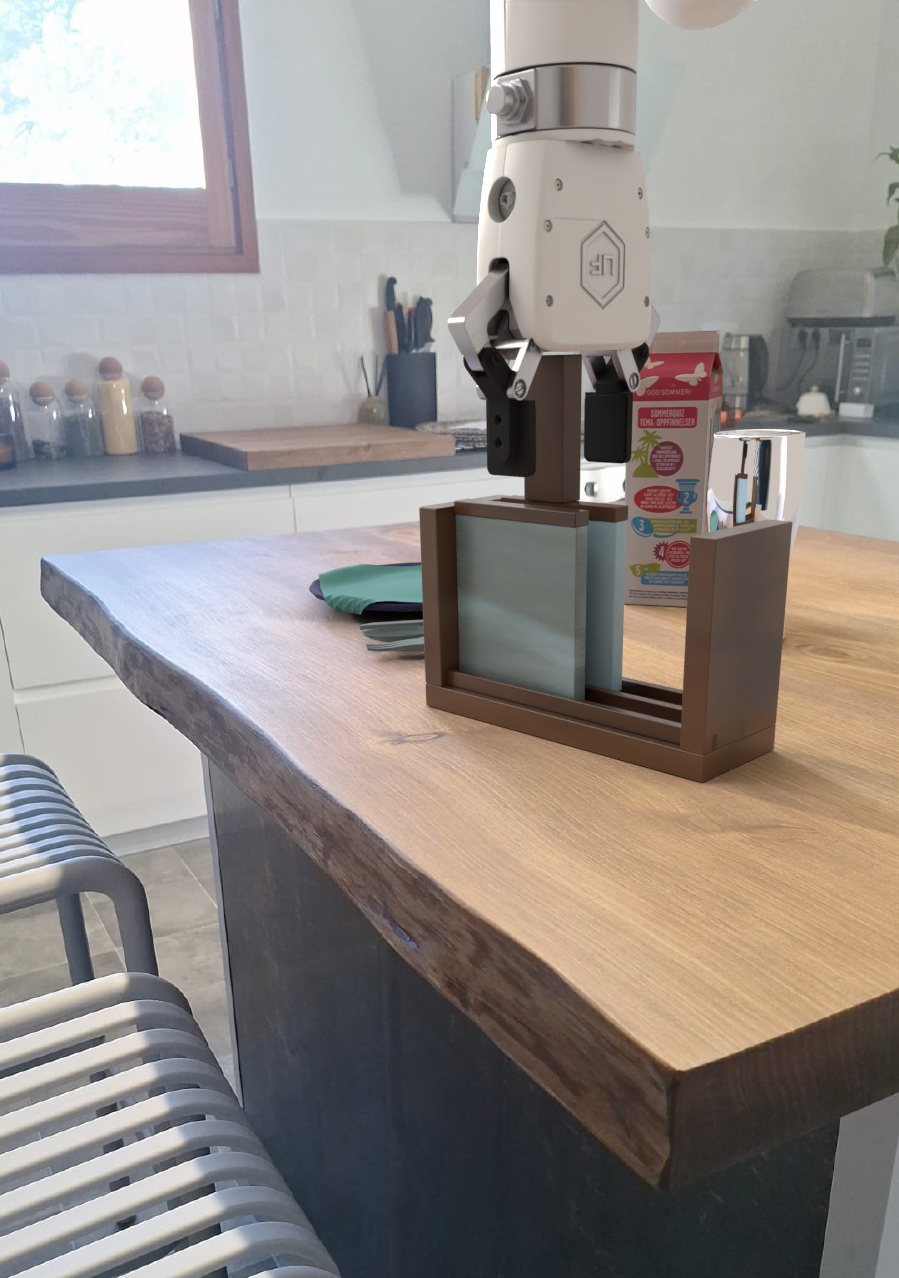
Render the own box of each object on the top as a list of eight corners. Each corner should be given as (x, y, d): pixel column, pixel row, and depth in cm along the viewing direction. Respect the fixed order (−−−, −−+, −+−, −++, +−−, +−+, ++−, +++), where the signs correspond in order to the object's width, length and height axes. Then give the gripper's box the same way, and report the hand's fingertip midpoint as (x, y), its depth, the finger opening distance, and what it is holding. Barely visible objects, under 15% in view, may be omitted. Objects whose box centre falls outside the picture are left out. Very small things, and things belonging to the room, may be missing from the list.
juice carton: (638, 589, 106) (646, 333, 97) (710, 592, 103) (725, 330, 95) (621, 603, 100) (629, 333, 92) (697, 607, 98) (712, 330, 89)
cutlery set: (507, 576, 113) (507, 553, 112) (584, 648, 86) (585, 618, 85) (307, 587, 111) (305, 563, 110) (319, 665, 83) (317, 634, 82)
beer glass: (679, 637, 88) (689, 434, 82) (733, 621, 92) (746, 427, 87) (756, 652, 83) (772, 437, 78) (809, 635, 87) (828, 430, 82)
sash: (517, 664, 74) (515, 355, 67) (625, 689, 68) (635, 353, 61) (500, 669, 73) (496, 356, 66) (608, 695, 67) (617, 353, 60)
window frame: (500, 682, 78) (498, 489, 73) (774, 749, 63) (793, 515, 59) (425, 705, 73) (418, 501, 68) (702, 783, 59) (716, 532, 54)
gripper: (501, 89, 52) (505, 488, 58) (718, 127, 63) (701, 458, 69) (391, 115, 57) (406, 479, 63) (610, 146, 68) (604, 453, 74)
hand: (561, 466), depth 66 cm, fingers open, 7 cm apart
